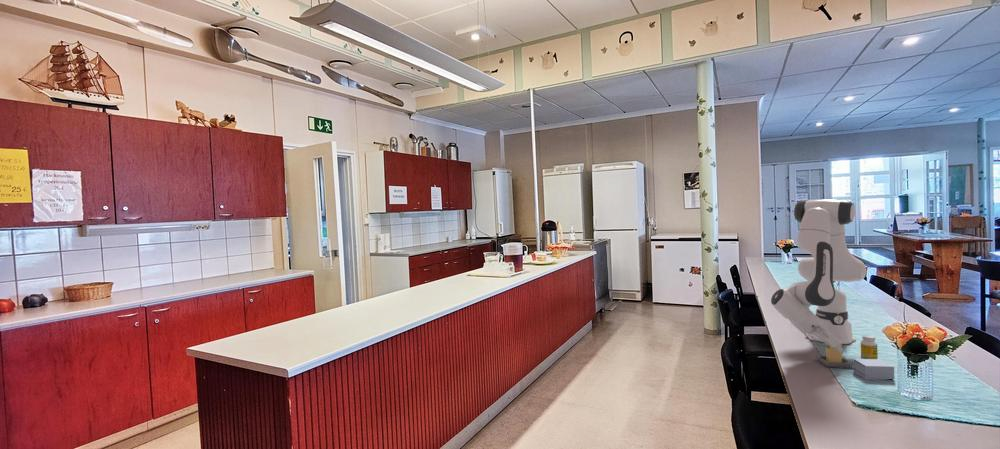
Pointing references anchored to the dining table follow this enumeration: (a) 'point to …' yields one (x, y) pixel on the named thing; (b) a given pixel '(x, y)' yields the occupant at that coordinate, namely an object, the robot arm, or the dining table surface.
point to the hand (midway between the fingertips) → (835, 347)
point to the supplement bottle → (868, 347)
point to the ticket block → (873, 369)
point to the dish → (834, 363)
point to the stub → (833, 354)
